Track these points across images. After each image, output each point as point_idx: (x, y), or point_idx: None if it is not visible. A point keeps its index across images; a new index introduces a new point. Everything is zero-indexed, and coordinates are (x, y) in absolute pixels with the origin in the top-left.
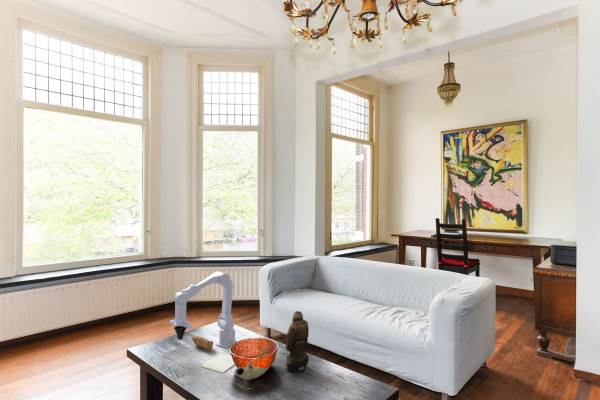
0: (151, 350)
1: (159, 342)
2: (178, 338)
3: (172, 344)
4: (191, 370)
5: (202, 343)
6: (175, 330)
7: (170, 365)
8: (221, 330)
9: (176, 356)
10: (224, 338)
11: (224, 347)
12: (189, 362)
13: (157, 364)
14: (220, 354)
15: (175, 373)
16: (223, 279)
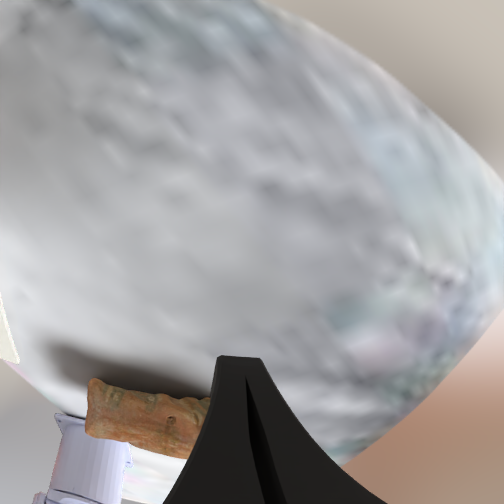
0: (474, 265)
1: (457, 349)
2: (252, 369)
3: (388, 367)
4: (7, 108)
5: (134, 415)
6: (356, 492)
7: (219, 94)
8: (78, 501)
9: (273, 253)
10: (65, 459)
11: (67, 416)
12: (94, 204)
13: (347, 81)
14: (11, 352)
15: (90, 10)
16: None
